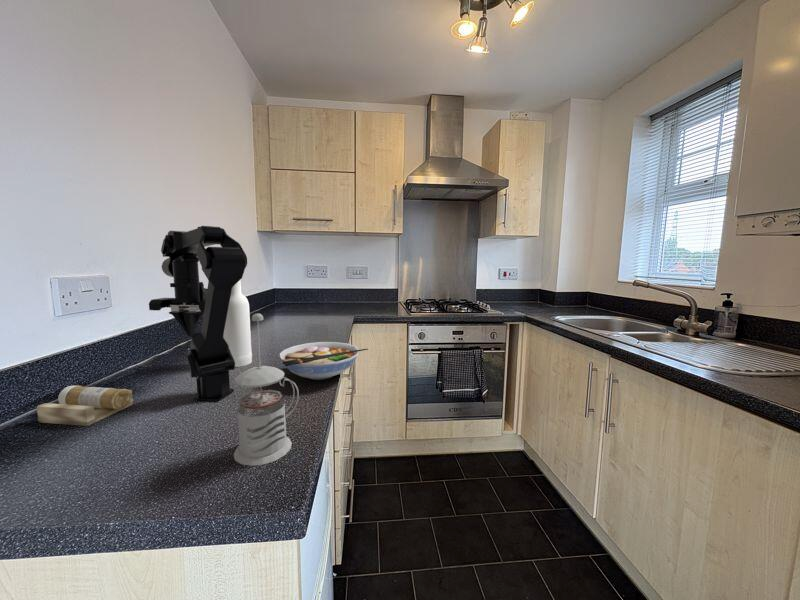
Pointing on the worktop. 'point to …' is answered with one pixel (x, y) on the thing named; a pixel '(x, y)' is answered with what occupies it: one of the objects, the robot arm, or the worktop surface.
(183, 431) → the worktop surface
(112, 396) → the sprinkles bottle
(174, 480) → the worktop surface
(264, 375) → the french press
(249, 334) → the bottle
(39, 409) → the bottle rest
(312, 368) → the ramen bowl
